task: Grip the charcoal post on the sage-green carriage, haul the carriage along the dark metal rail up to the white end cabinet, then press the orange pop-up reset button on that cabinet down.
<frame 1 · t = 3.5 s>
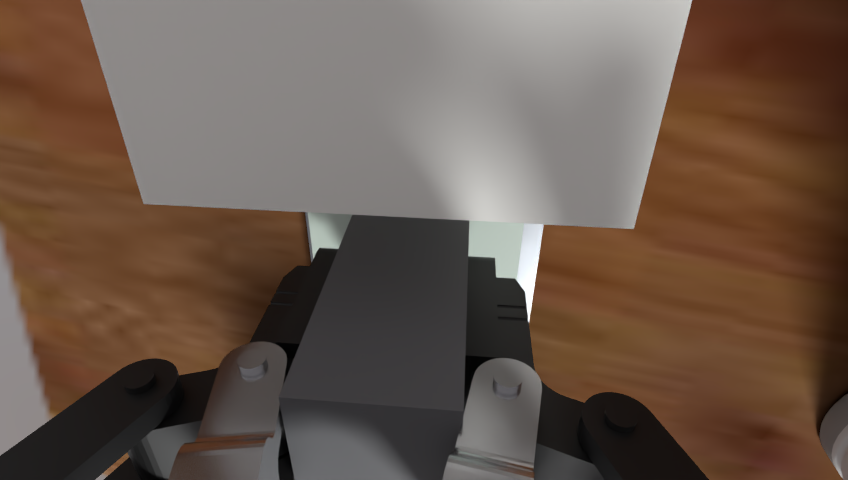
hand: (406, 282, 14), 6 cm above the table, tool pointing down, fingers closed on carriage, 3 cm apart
carriage: (404, 296, 13), point 6 cm above the table, slide at 0.0 cm, touching gripper
rail: (424, 317, 22), on the table
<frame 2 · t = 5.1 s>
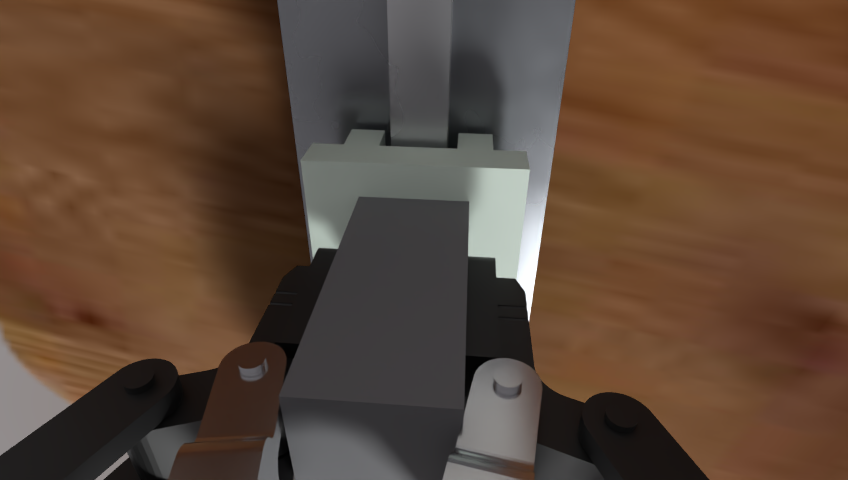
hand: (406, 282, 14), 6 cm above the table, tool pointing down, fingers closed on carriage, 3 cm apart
carriage: (404, 295, 13), point 6 cm above the table, slide at 6.3 cm, touching gripper
rail: (425, 176, 18), on the table
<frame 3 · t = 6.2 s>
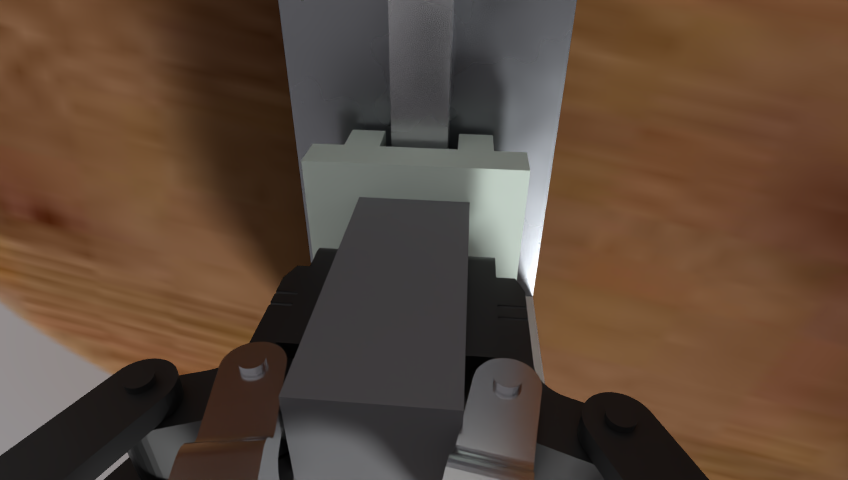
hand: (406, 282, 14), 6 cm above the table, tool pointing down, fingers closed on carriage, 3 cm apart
carriage: (404, 296, 13), point 6 cm above the table, slide at 11.4 cm, touching gripper
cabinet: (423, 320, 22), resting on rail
rail: (427, 20, 16), on the table
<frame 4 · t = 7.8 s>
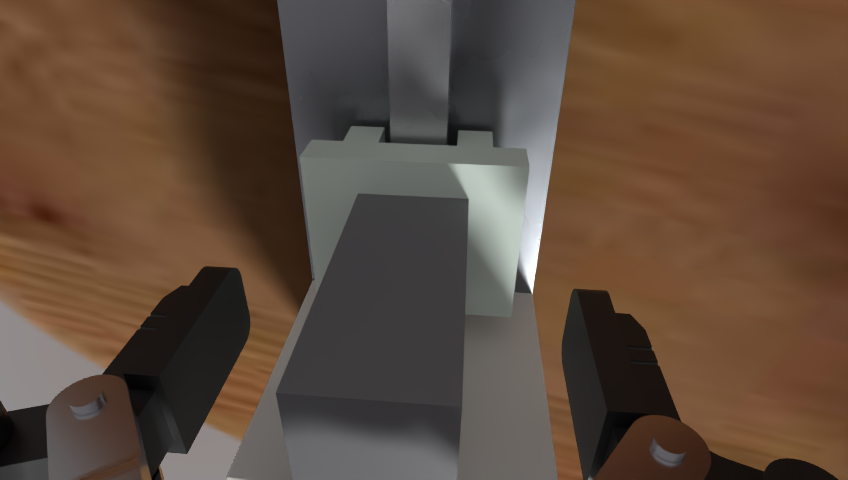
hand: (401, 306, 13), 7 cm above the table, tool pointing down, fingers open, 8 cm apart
carriage: (403, 292, 13), point 6 cm above the table, slide at 11.4 cm
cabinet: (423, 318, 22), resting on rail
rail: (426, 15, 16), on the table
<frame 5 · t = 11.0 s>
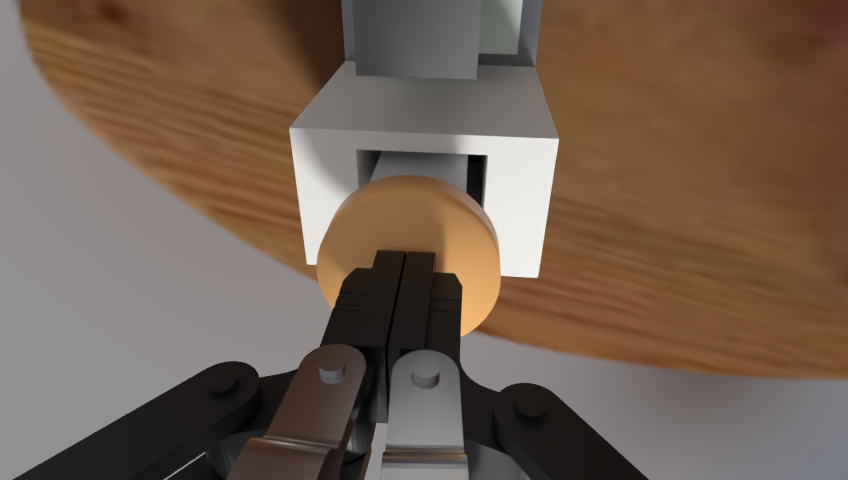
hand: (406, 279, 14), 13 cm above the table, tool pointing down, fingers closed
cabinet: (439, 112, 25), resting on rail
reset button: (420, 212, 17), point 10 cm above the table, slide at 0.2 cm, touching gripper
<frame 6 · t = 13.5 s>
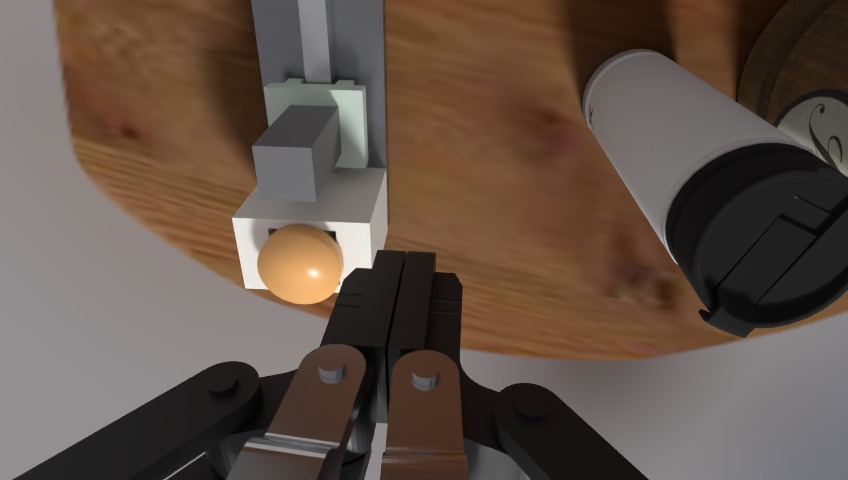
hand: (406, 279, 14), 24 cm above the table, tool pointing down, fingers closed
travel mug: (627, 98, 35), on the table
carriage: (307, 142, 31), point 6 cm above the table, slide at 11.4 cm
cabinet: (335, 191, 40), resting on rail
reset button: (312, 239, 34), point 7 cm above the table, slide at 2.6 cm
rail: (323, 27, 34), on the table
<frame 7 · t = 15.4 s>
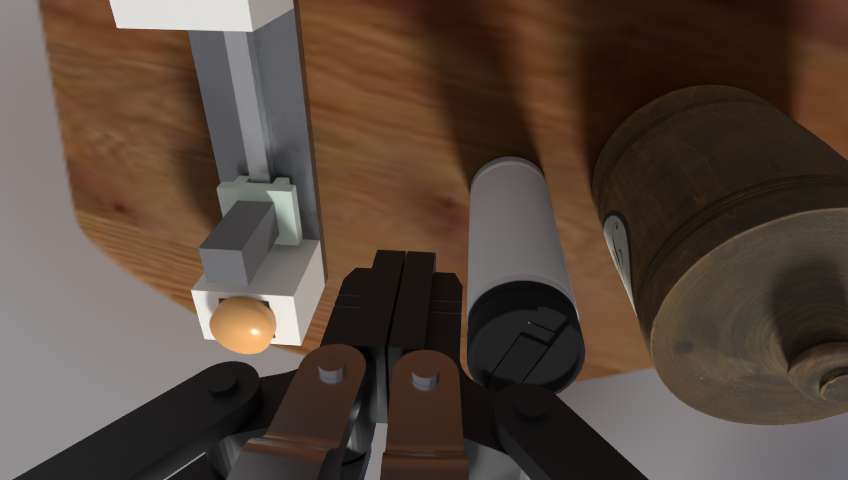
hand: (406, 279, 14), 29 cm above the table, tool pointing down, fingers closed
travel mug: (507, 190, 45), on the table
carriage: (248, 232, 41), point 6 cm above the table, slide at 11.4 cm
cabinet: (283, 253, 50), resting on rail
reset button: (256, 302, 44), point 7 cm above the table, slide at 2.6 cm
rail: (264, 136, 44), on the table
wooden container: (686, 176, 43), on the table
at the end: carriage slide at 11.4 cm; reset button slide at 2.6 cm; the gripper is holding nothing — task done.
